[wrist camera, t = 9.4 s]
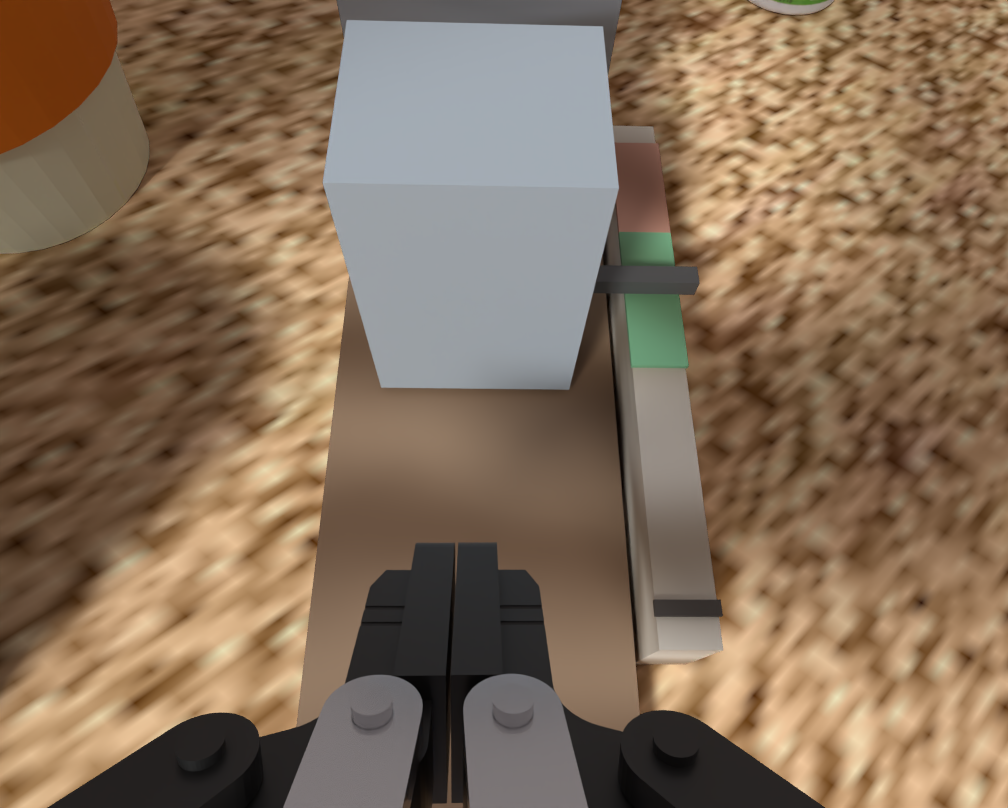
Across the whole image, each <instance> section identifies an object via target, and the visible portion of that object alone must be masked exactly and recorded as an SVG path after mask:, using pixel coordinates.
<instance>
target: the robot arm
mask: <svg viewBox="0 0 1008 808" xmlns="http://www.w3.org/2000/svg"><path fill="white" fill-rule="evenodd" d="M450 735H451V803H463V808H825V807H823V806H822V805H821V804H819V803H818V802H816V801H815V800H813V799H812V798H811V797H809V796H808V795H806V794H805V793H803V792H802V791H801V790H799V789H798V788H796V787H795V786H793V785H792V784H790V783H789V782H788V781H786V780H785V779H783V778H782V777H780V776H779V775H778V774H776V773H775V772H773V771H772V770H770V769H769V768H768V767H766V766H765V765H763V764H762V763H760V762H759V761H758V760H756V759H755V758H753V757H752V756H750V755H749V754H748V753H746V752H745V751H743V750H742V749H740V748H739V747H738V746H736V745H735V744H733V743H732V742H730V741H729V740H728V739H726V738H725V737H723V736H722V735H720V734H719V733H718V732H716V731H715V730H713V729H712V728H710V727H709V726H708V725H706V724H705V723H703V722H701V721H700V720H698V719H696V718H694V717H692V716H689V715H686V714H683V713H680V712H675V711H666V710H658V711H650V712H646V713H643V714H641V715H638V716H637V717H635V718H633V719H632V720H631V721H630V722H629V723H628V724H627V725H626V727H625V728H624V730H623V732H622V731H619V730H615V729H611V728H607V727H603V726H599V725H596V724H593V723H590V722H588V721H586V720H583V719H581V718H580V717H578V716H576V715H575V714H573V713H572V712H571V711H570V710H568V709H567V708H566V707H565V706H564V705H563V704H562V703H561V701H560V698H559V697H558V695H557V694H556V692H555V690H554V686H553V681H552V674H551V667H550V660H549V652H548V645H547V638H546V631H545V625H544V617H543V609H542V602H541V595H540V588H539V585H538V584H537V583H536V582H535V580H534V579H533V578H532V577H531V576H530V574H529V573H528V572H527V571H526V570H498V555H497V542H458V555H457V572H456V573H455V543H416V544H415V549H414V555H413V561H412V567H411V570H386V571H385V572H384V573H383V574H382V575H381V576H380V577H379V578H378V579H377V580H376V581H375V582H374V583H373V584H372V585H371V586H370V589H369V593H368V597H367V600H366V604H365V610H364V612H363V616H362V620H361V626H360V627H359V631H358V635H357V639H356V643H355V646H354V650H353V654H352V658H351V662H350V666H349V669H348V673H347V677H346V681H345V684H343V685H342V686H340V687H339V688H338V689H336V690H335V691H334V692H333V693H332V694H331V695H330V696H329V697H328V699H327V700H326V701H325V703H324V705H323V707H322V710H321V712H320V715H319V717H317V718H316V719H314V720H312V721H310V722H308V723H306V724H304V725H301V726H299V727H296V728H292V729H289V730H285V731H282V732H278V733H274V734H270V735H266V736H262V737H259V734H258V730H257V729H256V727H255V725H254V724H253V723H252V722H251V721H250V720H248V719H246V718H245V717H243V716H240V715H237V714H232V713H210V714H205V715H201V716H197V717H194V718H191V719H189V720H187V721H184V722H182V723H180V724H178V725H177V726H175V727H173V728H172V729H170V730H168V731H167V732H165V733H164V734H162V735H161V736H159V737H157V738H156V739H154V740H153V741H151V742H150V743H148V744H146V745H145V746H143V747H142V748H140V749H139V750H137V751H136V752H134V753H132V754H131V755H129V756H128V757H126V758H125V759H123V760H121V761H120V762H118V763H117V764H115V765H114V766H112V767H110V768H109V769H107V770H106V771H104V772H103V773H101V774H100V775H98V776H96V777H95V778H93V779H92V780H90V781H89V782H87V783H85V784H84V785H82V786H81V787H79V788H78V789H76V790H74V791H73V792H71V793H70V794H68V795H67V796H65V797H64V798H62V799H60V800H59V801H57V802H56V803H54V804H53V805H51V806H49V807H48V808H432V804H445V803H447V793H448V774H449V754H450Z"/></svg>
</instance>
